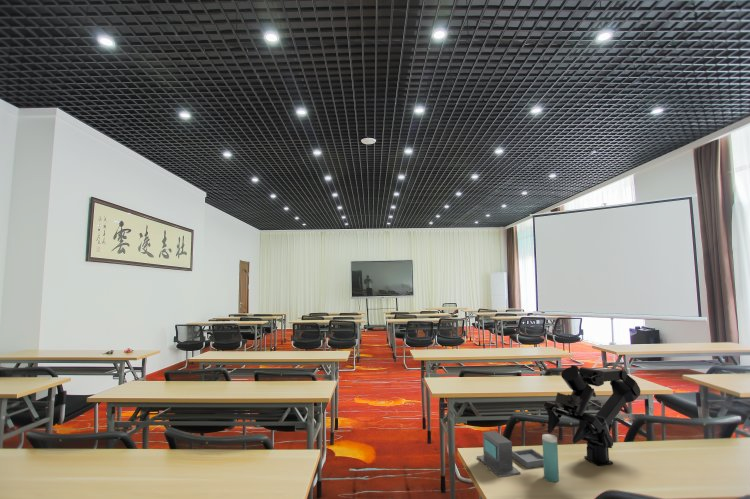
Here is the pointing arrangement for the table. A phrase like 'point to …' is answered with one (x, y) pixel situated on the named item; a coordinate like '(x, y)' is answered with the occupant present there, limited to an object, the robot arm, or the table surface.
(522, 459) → the holder tray
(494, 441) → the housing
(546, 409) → the robot arm
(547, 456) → the canister
